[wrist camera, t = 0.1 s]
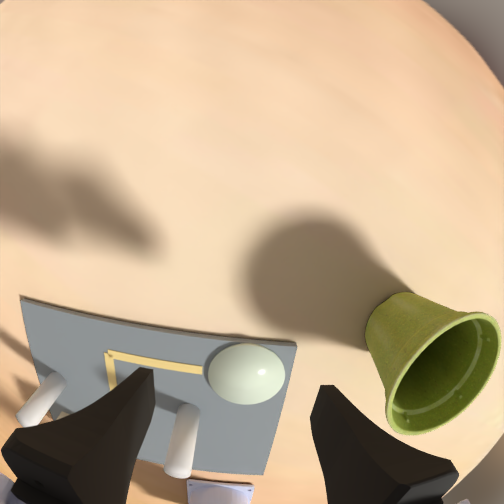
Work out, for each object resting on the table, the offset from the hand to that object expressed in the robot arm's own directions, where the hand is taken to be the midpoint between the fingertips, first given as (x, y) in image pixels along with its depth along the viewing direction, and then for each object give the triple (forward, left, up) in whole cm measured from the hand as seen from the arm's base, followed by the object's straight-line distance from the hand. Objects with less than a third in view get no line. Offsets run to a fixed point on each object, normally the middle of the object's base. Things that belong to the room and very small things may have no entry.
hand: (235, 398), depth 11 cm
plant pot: (-1, -13, -10) cm, 17 cm away
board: (-12, +7, -10) cm, 17 cm away
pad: (-6, -1, -10) cm, 12 cm away
